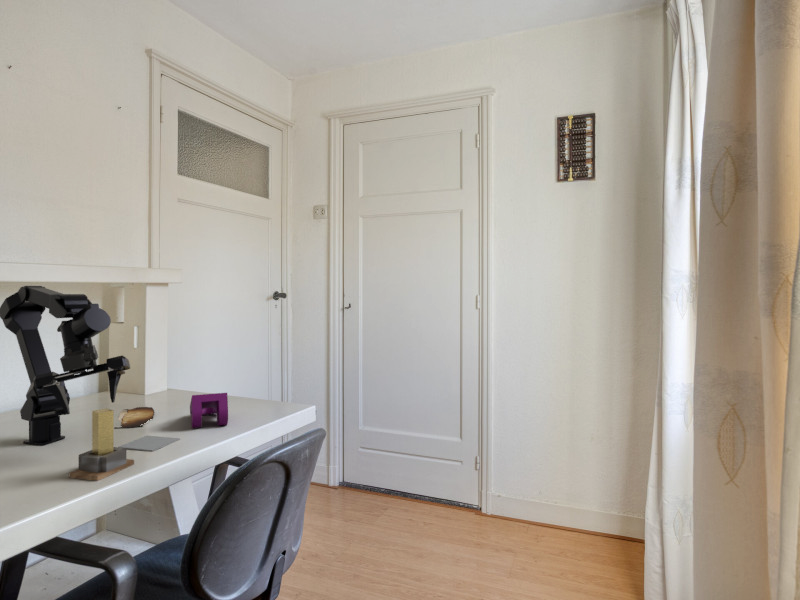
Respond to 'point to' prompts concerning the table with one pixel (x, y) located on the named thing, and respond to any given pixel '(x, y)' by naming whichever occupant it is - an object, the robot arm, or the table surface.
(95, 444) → the yellow rectangular block
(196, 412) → the mounting bracket
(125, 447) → the felt pad
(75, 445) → the table surface
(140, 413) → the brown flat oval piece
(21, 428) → the table surface
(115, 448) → the grey block holder
